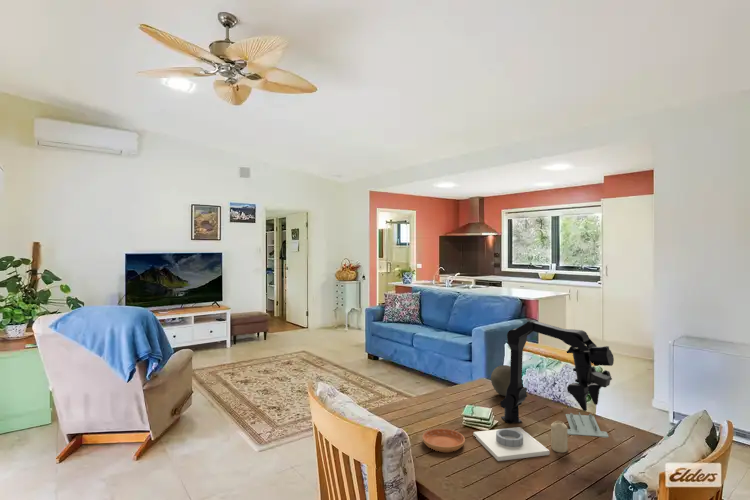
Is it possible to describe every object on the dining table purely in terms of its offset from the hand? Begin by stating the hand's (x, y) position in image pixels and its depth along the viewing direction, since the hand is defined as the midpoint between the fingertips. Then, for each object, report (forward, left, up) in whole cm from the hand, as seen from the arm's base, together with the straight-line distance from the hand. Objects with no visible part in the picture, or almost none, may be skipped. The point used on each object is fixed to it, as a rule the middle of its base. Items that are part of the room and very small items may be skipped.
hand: (590, 407), depth 156 cm
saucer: (-14, -53, -15) cm, 56 cm away
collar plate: (-8, -29, -14) cm, 33 cm away
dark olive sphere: (-55, -5, -15) cm, 57 cm away
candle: (-1, -13, -15) cm, 19 cm away
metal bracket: (-13, +7, -15) cm, 22 cm away
